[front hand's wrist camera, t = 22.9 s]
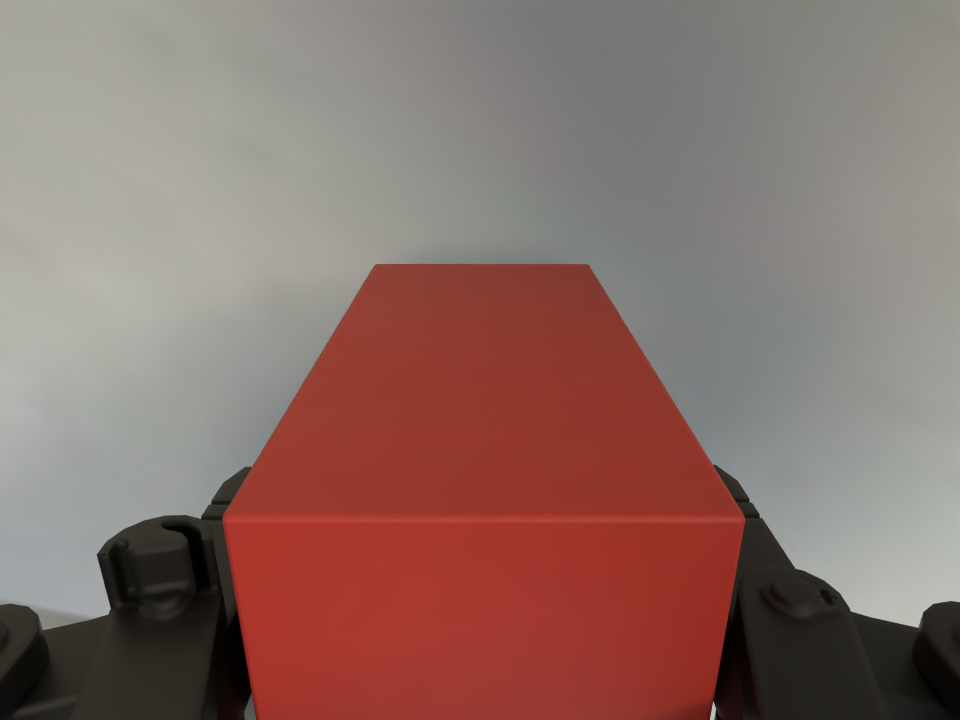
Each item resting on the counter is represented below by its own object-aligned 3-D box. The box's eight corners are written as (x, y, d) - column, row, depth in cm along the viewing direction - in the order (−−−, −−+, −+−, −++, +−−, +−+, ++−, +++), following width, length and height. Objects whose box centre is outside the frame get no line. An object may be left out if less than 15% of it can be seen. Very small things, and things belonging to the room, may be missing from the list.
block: (389, 521, 17) (296, 963, 8) (374, 263, 14) (219, 516, 6) (573, 521, 17) (668, 964, 8) (589, 263, 14) (750, 517, 6)
